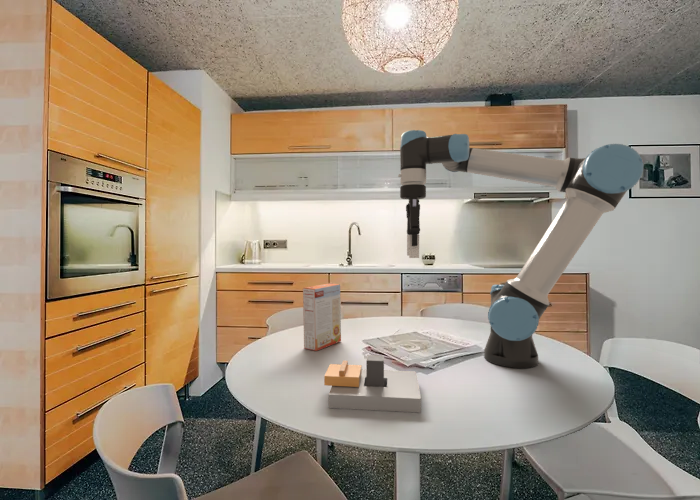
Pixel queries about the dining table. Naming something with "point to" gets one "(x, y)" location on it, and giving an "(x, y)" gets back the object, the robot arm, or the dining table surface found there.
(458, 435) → the dining table surface
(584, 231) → the robot arm
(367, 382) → the plug
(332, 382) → the orange ridged block
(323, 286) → the cracker box
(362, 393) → the socket plate
